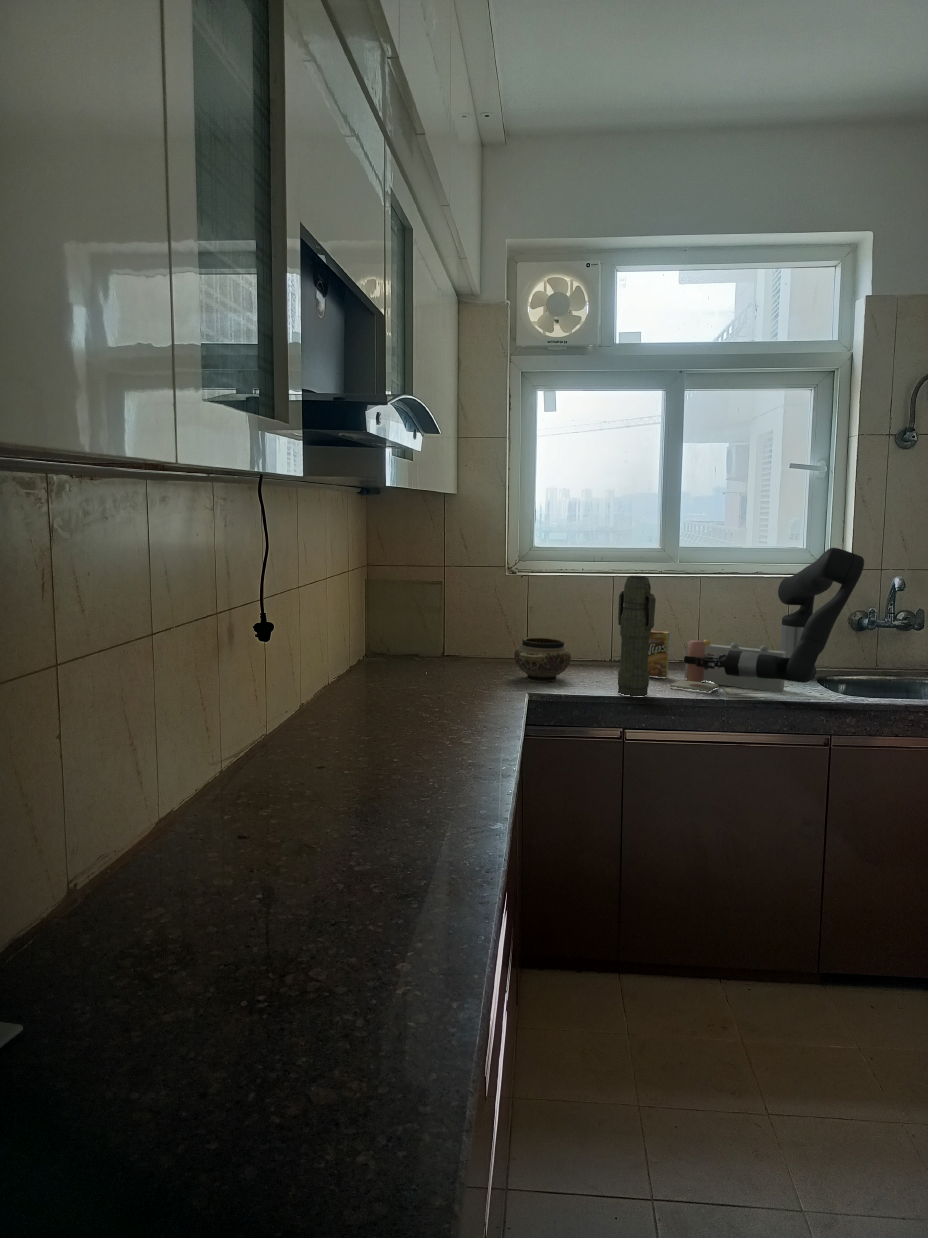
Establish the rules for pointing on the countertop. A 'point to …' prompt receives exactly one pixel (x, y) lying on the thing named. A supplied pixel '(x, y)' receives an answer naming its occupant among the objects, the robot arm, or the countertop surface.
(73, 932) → the countertop surface
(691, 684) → the pad
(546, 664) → the ceramic bowl
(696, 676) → the pink cylinder
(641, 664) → the thermos
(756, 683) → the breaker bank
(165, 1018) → the countertop surface
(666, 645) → the candy box
